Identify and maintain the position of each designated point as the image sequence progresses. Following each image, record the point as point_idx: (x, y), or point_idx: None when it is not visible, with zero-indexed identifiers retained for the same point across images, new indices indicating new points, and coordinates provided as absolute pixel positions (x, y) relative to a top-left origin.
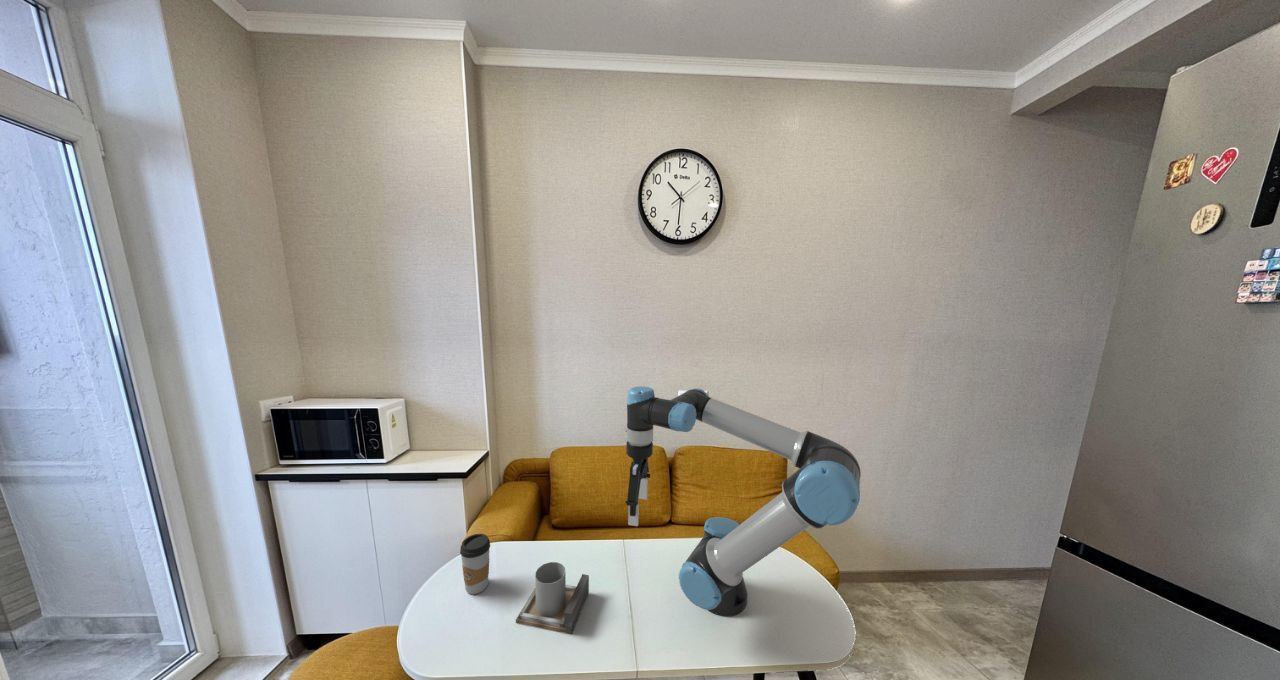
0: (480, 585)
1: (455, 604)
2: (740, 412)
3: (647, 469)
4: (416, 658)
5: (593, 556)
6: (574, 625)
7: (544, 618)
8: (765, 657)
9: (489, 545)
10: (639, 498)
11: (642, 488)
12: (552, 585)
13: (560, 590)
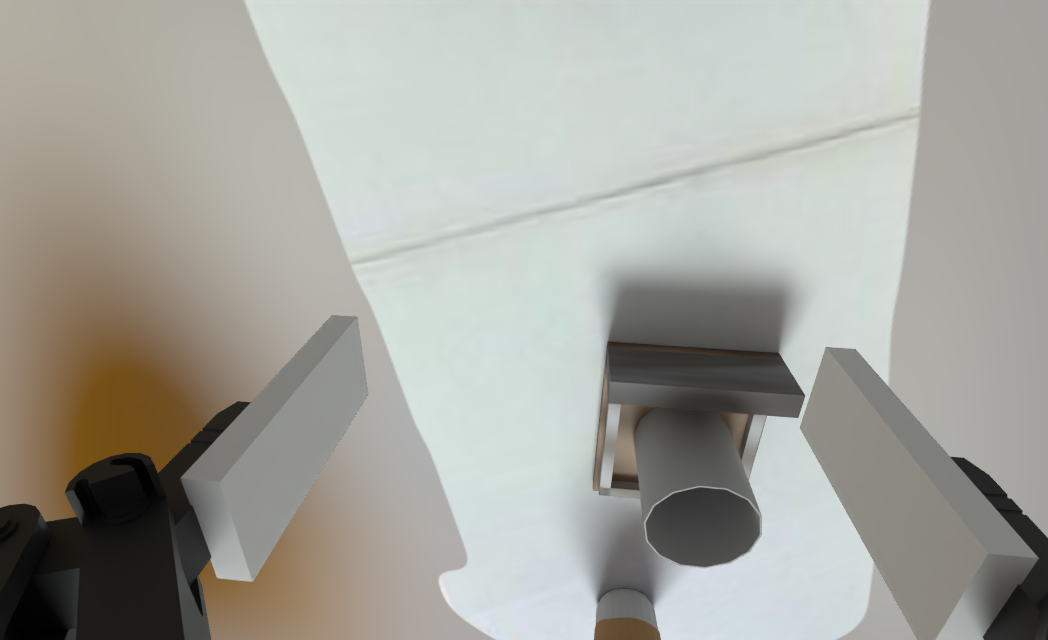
0: (647, 613)
1: (686, 623)
2: None
3: (2, 602)
4: (837, 631)
5: (430, 365)
6: (752, 354)
7: (751, 445)
8: None
9: None
10: (366, 384)
11: (311, 433)
12: (755, 504)
13: (725, 459)
